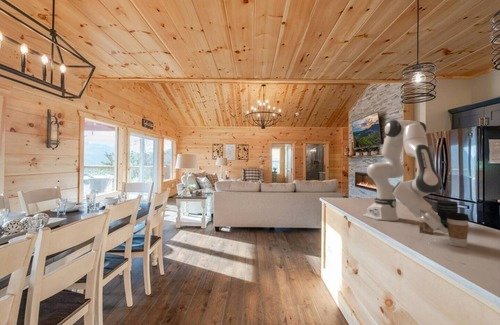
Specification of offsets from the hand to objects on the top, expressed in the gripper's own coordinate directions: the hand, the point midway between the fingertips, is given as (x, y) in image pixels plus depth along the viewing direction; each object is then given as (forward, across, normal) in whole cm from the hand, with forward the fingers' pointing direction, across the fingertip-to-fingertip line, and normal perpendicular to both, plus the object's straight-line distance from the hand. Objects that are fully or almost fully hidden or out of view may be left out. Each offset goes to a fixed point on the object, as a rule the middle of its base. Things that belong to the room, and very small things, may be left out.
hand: (446, 231), depth 115 cm
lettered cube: (-2, +16, +10) cm, 19 cm away
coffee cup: (+7, 0, +1) cm, 7 cm away
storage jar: (+5, +37, +3) cm, 38 cm away
